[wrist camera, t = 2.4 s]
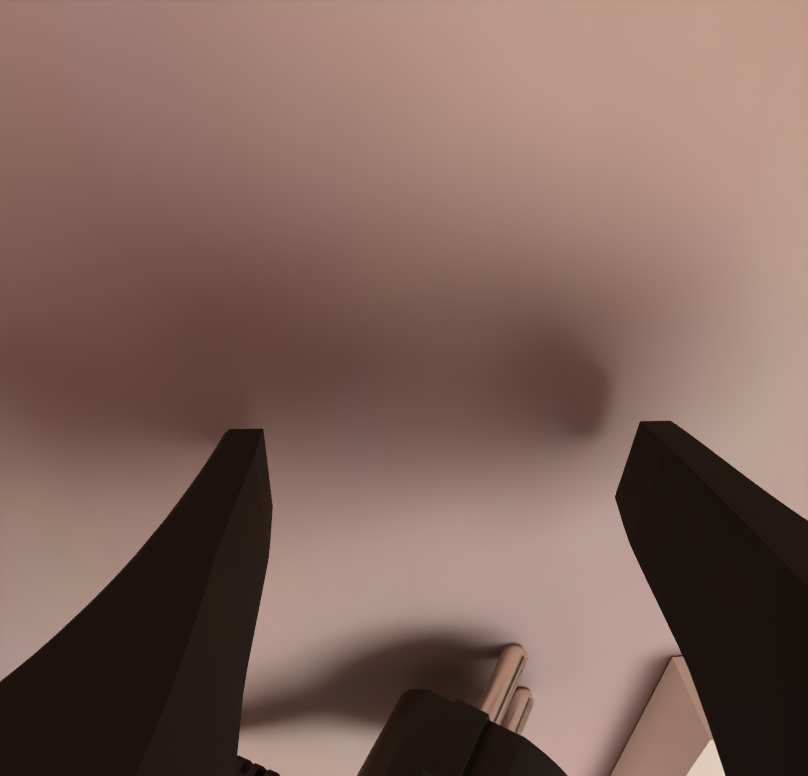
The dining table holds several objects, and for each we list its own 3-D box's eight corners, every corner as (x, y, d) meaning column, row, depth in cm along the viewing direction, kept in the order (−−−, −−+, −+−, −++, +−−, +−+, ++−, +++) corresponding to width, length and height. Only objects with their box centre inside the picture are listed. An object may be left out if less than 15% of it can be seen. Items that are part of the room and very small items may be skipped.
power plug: (109, 721, 18) (496, 1010, 11) (277, 526, 22) (614, 657, 16) (188, 799, 21) (522, 1057, 15) (320, 615, 26) (613, 752, 20)
